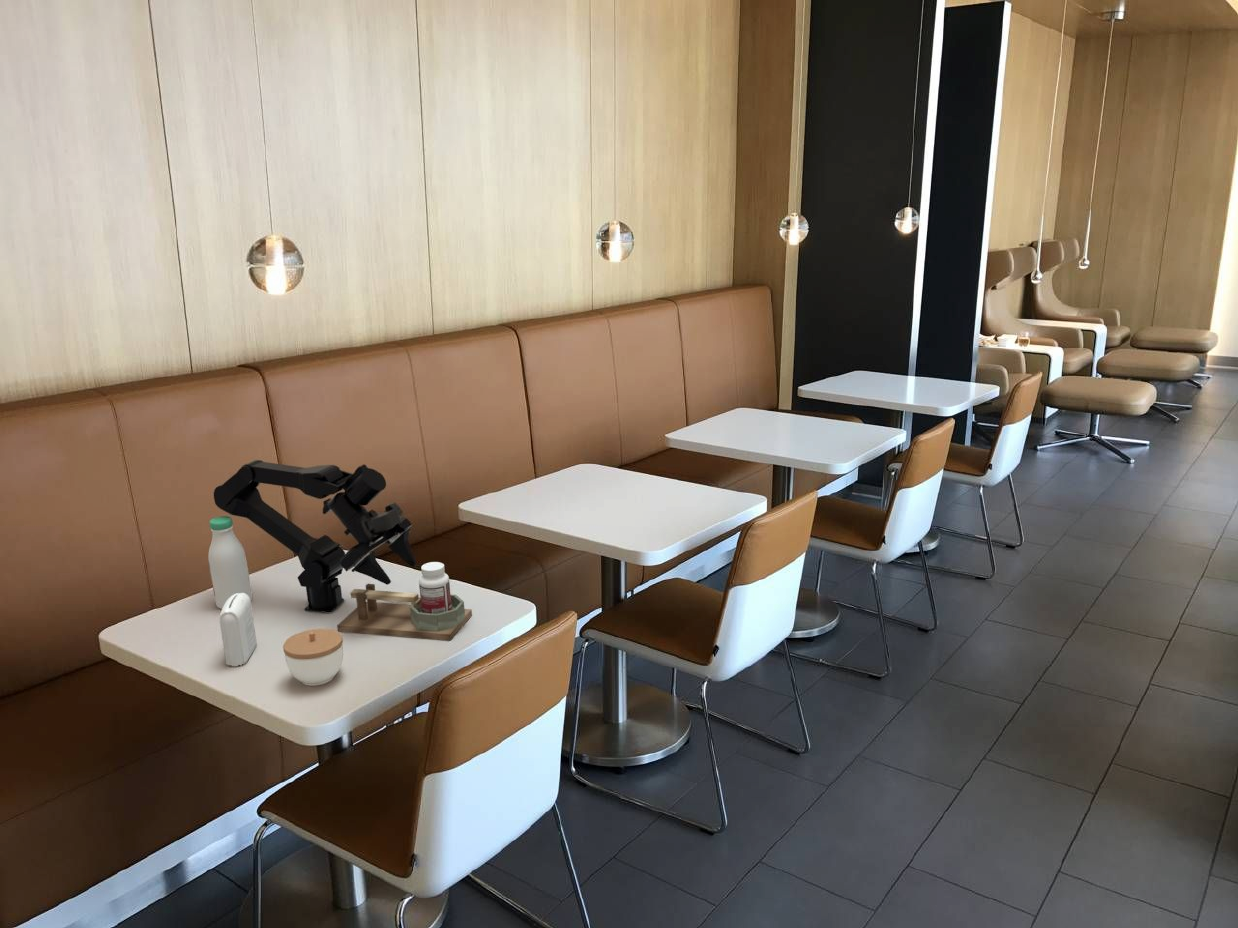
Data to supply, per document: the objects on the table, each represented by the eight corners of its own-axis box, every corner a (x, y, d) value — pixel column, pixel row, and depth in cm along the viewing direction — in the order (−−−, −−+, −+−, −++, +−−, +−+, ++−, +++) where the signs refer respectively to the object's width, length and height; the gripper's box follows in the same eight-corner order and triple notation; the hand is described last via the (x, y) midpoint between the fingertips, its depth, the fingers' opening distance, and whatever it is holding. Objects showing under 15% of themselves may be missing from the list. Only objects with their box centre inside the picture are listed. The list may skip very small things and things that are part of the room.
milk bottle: (260, 599, 230) (246, 516, 224) (231, 613, 224) (216, 528, 217) (237, 592, 234) (223, 510, 228) (208, 606, 228) (193, 522, 221)
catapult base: (337, 631, 214) (333, 599, 212) (364, 607, 225) (361, 576, 223) (450, 640, 208) (447, 607, 206) (472, 615, 219) (469, 584, 217)
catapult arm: (343, 623, 214) (340, 600, 212) (366, 603, 223) (363, 580, 222) (452, 632, 208) (450, 608, 207) (470, 611, 218) (468, 588, 216)
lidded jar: (294, 666, 199) (288, 622, 197) (351, 662, 200) (345, 618, 198) (282, 694, 189) (275, 647, 187) (341, 690, 190) (335, 644, 187)
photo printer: (238, 644, 210) (229, 588, 206) (259, 642, 210) (251, 586, 206) (223, 668, 200) (214, 609, 196) (246, 666, 200) (237, 608, 196)
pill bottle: (436, 606, 218) (431, 558, 215) (458, 612, 215) (454, 563, 212) (415, 617, 213) (411, 568, 210) (438, 623, 210) (434, 573, 207)
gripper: (347, 511, 204) (398, 572, 204) (402, 481, 220) (448, 537, 220) (318, 541, 209) (367, 600, 209) (374, 509, 226) (419, 564, 225)
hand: (402, 574), depth 216 cm, fingers open, 9 cm apart
